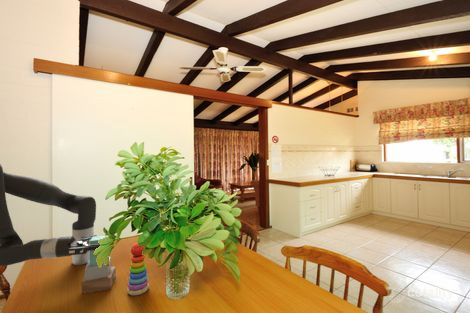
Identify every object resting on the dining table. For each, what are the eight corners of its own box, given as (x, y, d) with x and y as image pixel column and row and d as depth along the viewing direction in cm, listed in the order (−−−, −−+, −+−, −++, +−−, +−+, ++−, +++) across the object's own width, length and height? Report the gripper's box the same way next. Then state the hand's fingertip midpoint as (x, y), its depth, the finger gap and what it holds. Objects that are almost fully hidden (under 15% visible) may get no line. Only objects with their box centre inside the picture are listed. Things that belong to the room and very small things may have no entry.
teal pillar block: (93, 260, 96) (93, 236, 96) (106, 258, 98) (106, 235, 98) (89, 265, 91) (89, 240, 91) (103, 263, 93) (103, 239, 93)
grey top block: (89, 271, 97) (89, 259, 97) (110, 267, 100) (110, 256, 100) (85, 280, 89) (84, 268, 89) (108, 276, 92) (108, 264, 92)
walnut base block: (90, 281, 98) (89, 269, 98) (115, 277, 101) (115, 266, 101) (81, 294, 89) (81, 281, 89) (110, 290, 92) (110, 277, 92)
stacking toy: (153, 288, 92) (152, 242, 92) (135, 299, 85) (135, 249, 85) (140, 282, 96) (140, 238, 96) (122, 292, 89) (122, 245, 89)
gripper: (49, 244, 84) (99, 239, 88) (66, 232, 97) (108, 228, 102) (49, 264, 84) (99, 258, 88) (66, 249, 97) (108, 245, 102)
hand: (104, 242), depth 95 cm, fingers open, 8 cm apart
